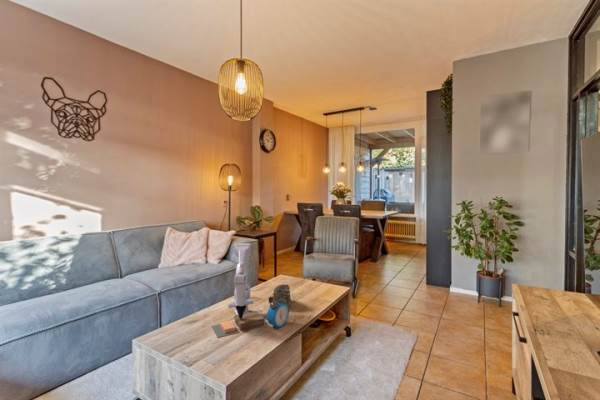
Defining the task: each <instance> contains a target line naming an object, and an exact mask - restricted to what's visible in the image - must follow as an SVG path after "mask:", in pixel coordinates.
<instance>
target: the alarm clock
mask: <svg viewBox="0 0 600 400" xmlns="http://www.w3.org/2000/svg"><path fill="white" fill-rule="evenodd" d="M278 301H280V302H278ZM278 301H273V302H271V304H270V303H269V304H270V305H269V307H268V310H267V313H266V320H267V322H268V324H269V325H271V326H274V327H275V328H276V329H279V328H283V326H285V325H286V323H287V322H288V319H289V316H290V309H289V306H287V305H286V304H284V303H286V300H285V299H283V298H280V299H279V300H278ZM282 302H283V303H282Z"/></svg>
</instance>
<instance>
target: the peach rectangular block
mask: <svg viewBox="0 0 600 400" xmlns="http://www.w3.org/2000/svg"><path fill="white" fill-rule="evenodd" d="M232 322H233V321H232V320H228V321H223V322H220V324H221V328H222V329H223V331H224V333H228V332H232V331H236V327H237V326H236V325H235V326H236V327H235V326H234V324H235V323H234V322H233V323H234V324H233V323H232Z"/></svg>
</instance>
